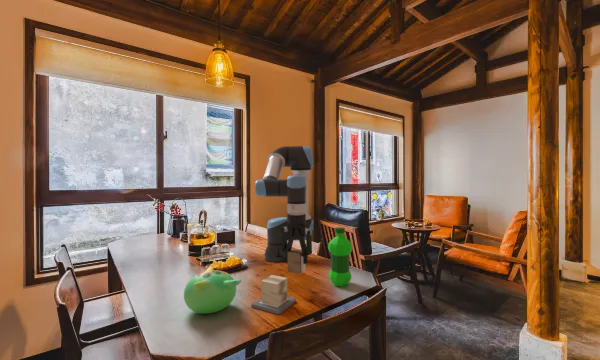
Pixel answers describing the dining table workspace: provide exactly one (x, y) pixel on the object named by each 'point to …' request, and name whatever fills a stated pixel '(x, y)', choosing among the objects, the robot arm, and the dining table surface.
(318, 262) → the dining table surface
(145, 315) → the dining table surface
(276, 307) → the slate pad
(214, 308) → the round green bird figurine
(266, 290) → the maple block
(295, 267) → the walnut block
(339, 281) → the plastic bottle
